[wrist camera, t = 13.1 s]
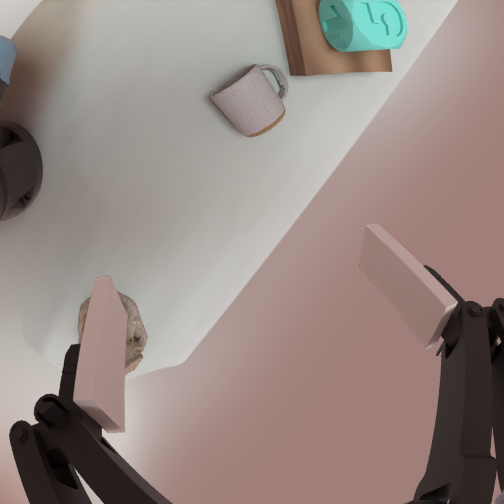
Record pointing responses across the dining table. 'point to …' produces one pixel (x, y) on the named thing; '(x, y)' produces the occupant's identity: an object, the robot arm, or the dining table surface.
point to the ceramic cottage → (134, 331)
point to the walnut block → (321, 44)
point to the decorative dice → (363, 24)
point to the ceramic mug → (252, 99)
